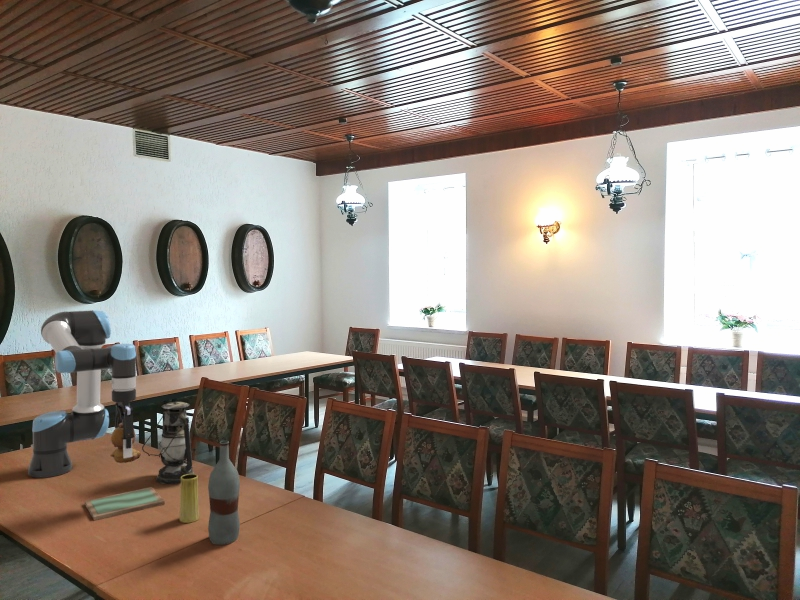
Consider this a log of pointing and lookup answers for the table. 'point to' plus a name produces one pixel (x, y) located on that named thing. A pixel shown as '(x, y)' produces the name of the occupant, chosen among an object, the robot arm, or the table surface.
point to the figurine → (118, 442)
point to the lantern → (174, 444)
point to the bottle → (224, 500)
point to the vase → (189, 498)
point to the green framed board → (123, 503)
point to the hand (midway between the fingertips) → (124, 453)
